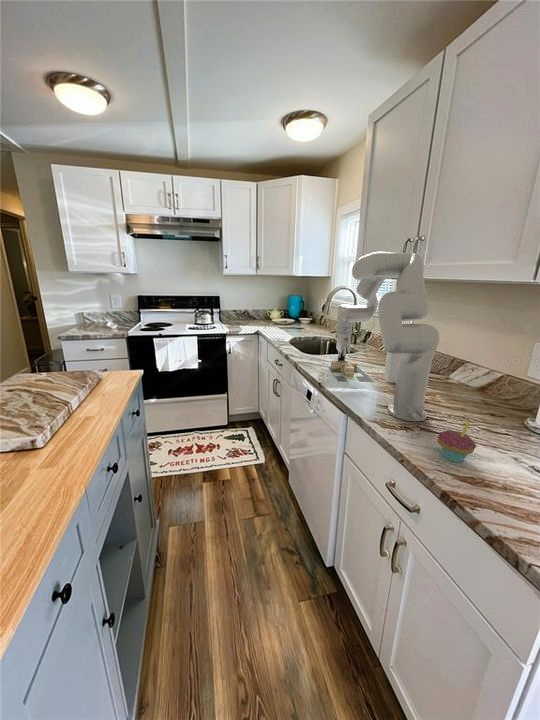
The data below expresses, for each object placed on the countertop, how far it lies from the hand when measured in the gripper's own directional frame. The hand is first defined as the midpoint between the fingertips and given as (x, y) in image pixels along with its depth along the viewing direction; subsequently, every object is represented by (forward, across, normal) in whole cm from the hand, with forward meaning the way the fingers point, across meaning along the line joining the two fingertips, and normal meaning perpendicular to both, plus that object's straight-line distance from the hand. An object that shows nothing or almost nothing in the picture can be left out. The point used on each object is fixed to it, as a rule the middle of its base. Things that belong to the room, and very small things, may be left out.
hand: (340, 364), depth 154 cm
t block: (+1, -10, 0) cm, 10 cm away
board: (+2, -12, -1) cm, 12 cm away
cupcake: (+2, -78, -10) cm, 79 cm away
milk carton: (+2, -20, -19) cm, 28 cm away
